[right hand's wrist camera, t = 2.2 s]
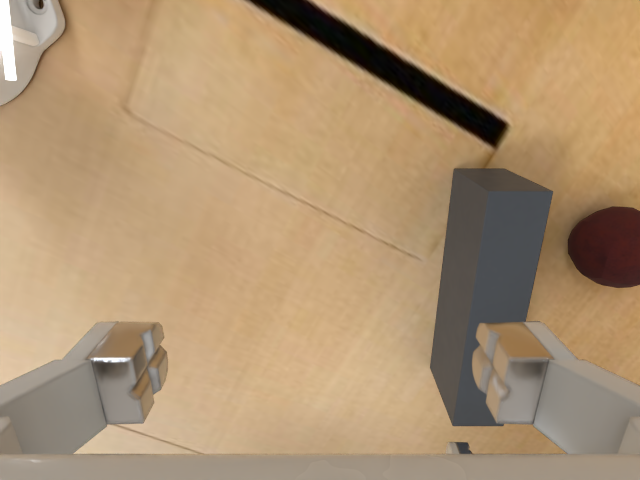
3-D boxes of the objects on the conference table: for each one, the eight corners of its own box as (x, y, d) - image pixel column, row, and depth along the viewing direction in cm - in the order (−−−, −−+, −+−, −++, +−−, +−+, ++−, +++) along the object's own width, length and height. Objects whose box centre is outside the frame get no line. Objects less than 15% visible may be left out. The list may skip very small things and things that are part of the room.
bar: (453, 168, 39) (488, 191, 31) (505, 168, 39) (553, 191, 31) (429, 367, 47) (452, 426, 39) (472, 367, 47) (503, 426, 39)
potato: (622, 266, 42) (678, 300, 36) (547, 267, 42) (589, 302, 36) (641, 197, 39) (705, 220, 33) (560, 199, 40) (608, 222, 33)
